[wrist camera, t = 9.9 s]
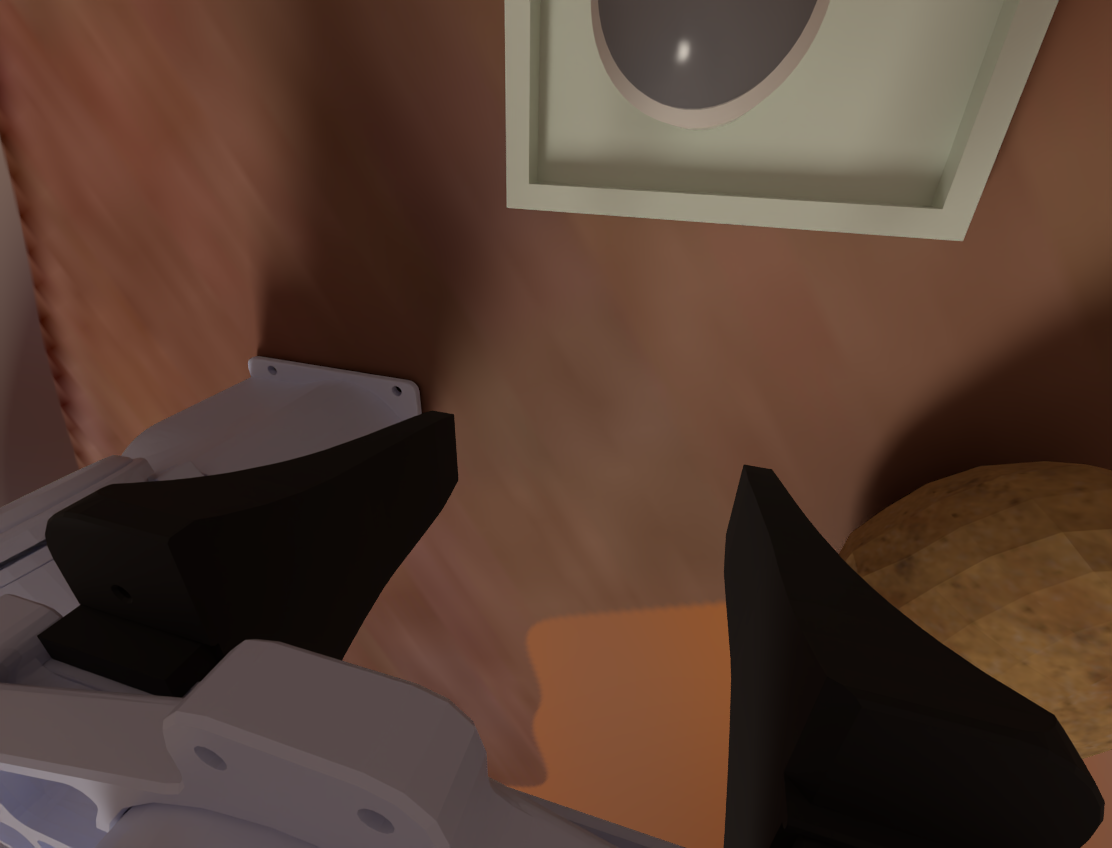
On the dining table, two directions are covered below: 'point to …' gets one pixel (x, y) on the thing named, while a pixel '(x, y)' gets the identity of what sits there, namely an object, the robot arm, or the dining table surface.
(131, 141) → the dining table surface
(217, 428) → the robot arm
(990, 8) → the tray
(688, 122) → the shaker
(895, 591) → the potato
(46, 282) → the dining table surface
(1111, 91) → the dining table surface
